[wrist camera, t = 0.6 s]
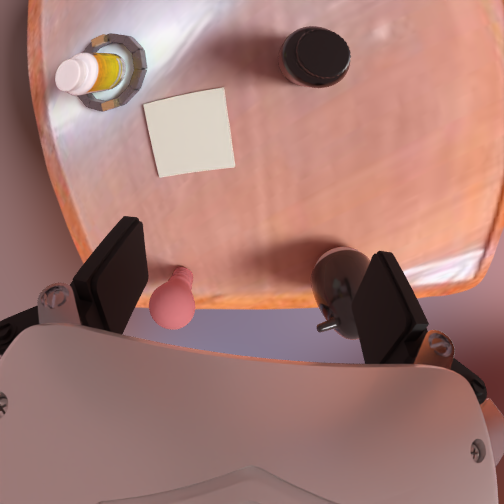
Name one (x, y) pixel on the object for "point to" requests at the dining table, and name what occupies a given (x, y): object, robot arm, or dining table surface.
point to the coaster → (190, 133)
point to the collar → (137, 76)
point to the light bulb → (174, 301)
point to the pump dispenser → (338, 288)
